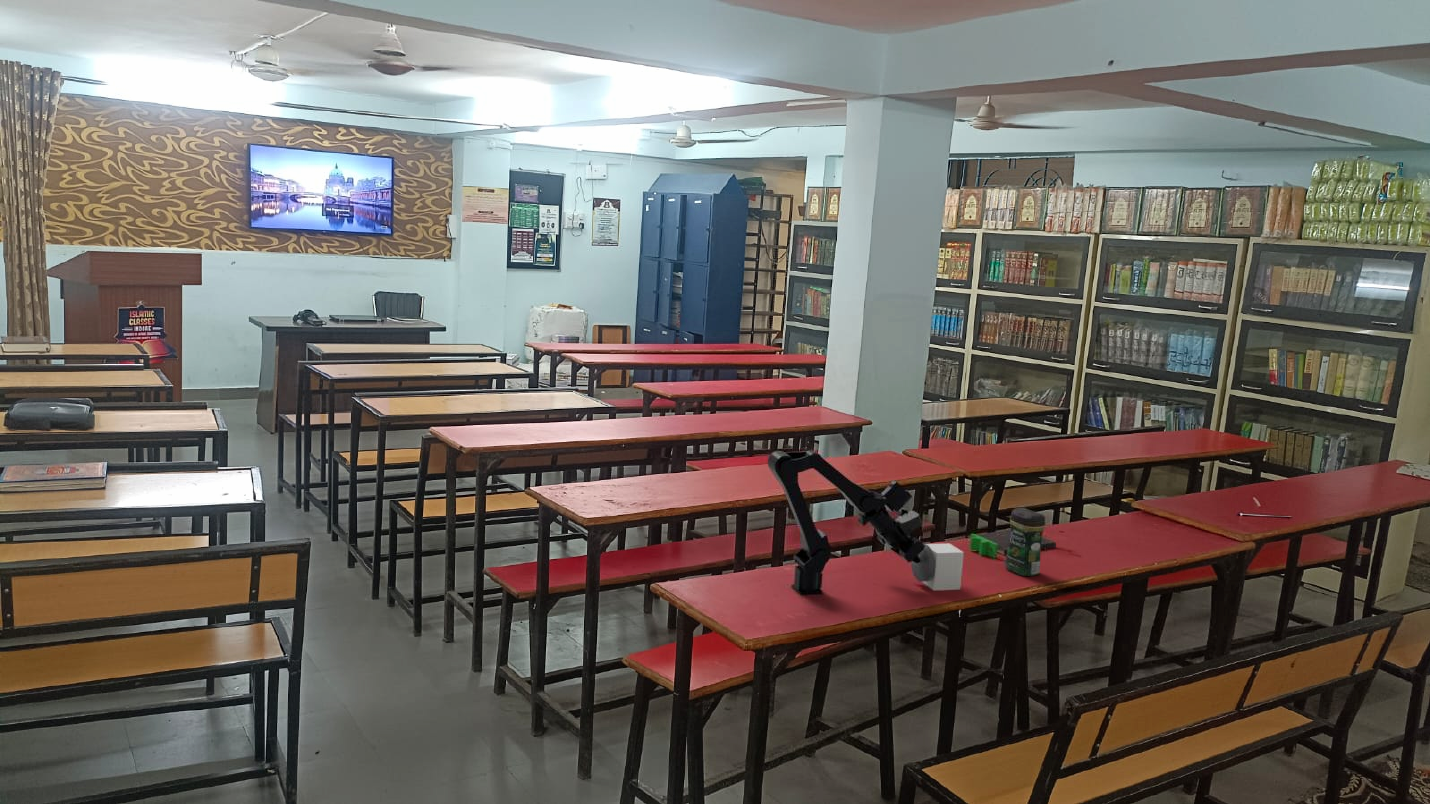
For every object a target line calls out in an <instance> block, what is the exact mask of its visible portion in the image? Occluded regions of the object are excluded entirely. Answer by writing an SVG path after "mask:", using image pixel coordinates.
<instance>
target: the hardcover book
mask: <svg viewBox="0 0 1430 804" xmlns="http://www.w3.org/2000/svg"><path fill="white" fill-rule="evenodd" d="M1010 532H1011V529H1008V530H1000V531H994V532H987V533H979V534H977V535H978V536H980V537H983V538H985V539H987V540H989V541H992V542H994V543H996V544H998V551H997V552H999V553H1002V554H1004V555H1006V554H1007V551H1008V546H1009V540H1010ZM997 534H999V535H997ZM966 537H967V538H968V539H971V535H967V536H966ZM968 539H967V541H968V542H969V541H970V540H968ZM1053 547H1057V543H1056V541H1053V540H1051V539H1048V538H1045V537H1043V536H1042V540H1041V551H1043V550H1042V549H1044V550H1046V549H1045V548H1051V549H1054V548H1053ZM999 553H998V554H999ZM1002 554H1001V555H1002ZM1004 555H1003V556H1004ZM1006 556H1007V555H1006Z"/></svg>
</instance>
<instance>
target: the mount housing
mask: <svg viewBox="0 0 1430 804" xmlns="http://www.w3.org/2000/svg"><path fill="white" fill-rule="evenodd" d="M925 544H926V545H928V546H929V547H930V548H931V550H932V553H933V556H934V562H935V568H934V574H933V577H932V579H931V580H930V581H923V582H922V583H923V584H925V585H926V586H927V587H928V588H929V589H931V590H932V591H950V590H951V591H952V590H953V591H954V590H961V586H962V585H961V584H962V583H961V582H962V574H963V565H964V554H965V553H964V551H963V550H961V549H959V548H958V547H956V546H954V545H953V544H952V543H925Z"/></svg>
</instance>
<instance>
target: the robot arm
mask: <svg viewBox="0 0 1430 804" xmlns="http://www.w3.org/2000/svg"><path fill="white" fill-rule="evenodd" d="M766 464H767V467H768V469H769V471H770V472H771V473H772V474H773V477H775V478H776V481H777V482H778V483H779V484H780V486H781V487H782V489H783V492H784V494H785V497H786V499H787V502H788V504H789V507H790V510H791V512H792V514H793V517H794V520H795V522H796V525H797V527H798V529H799V533H800V545H801V548H800V549H799V550H797V552H796V553H794V555H793V560H794V563H795V564H797V565H796V566H795V567H794V581H793V582H794V583H793V584H791V585H790V586H791V588H793V590H795V591H796V592H797V593H798V594H799V595H812V594H823V593H824V592H823V590H822V587H823V586H822V585H823V571H824V569H825V566H826V564H827V563H828V562H829V561H830V559H831V557H832V552H831V551H832V549H833V547H832V546H831V545H830V543H829V538H828V535H827V534H826V533H825V532H824V531H822V530H821V529H820V528H818V529H817V528H816V526H815V522H814V520H813V517H812V515H811V511H810V510H809V508H808V505H807V503H806V500H805V498H804V495H803V492H802V490H801V488H800V484H799V473H803V472H805V471H808V470H810V469H813V471H816V472H817V473H818V474H819V475H820V476H821V477H822V478H824V479H825V480H826V481H828V482H829V483H831V484H832V486H834V487H835V488H836V489H838V491H839V492H840V493H841V494H842V496H843V497H844V498H845V499H846V501H847V502H848V503H849V504H850V505H851V506H853V508H855V509H856V510H858V511H859V513H858V518H857V522H858V523H859V524H860V525H862V526H866V525H867V524H869V525H870V526H871V527H872V528H873V529H874V530H875V533H876V535H877V536H876V539H878V541H880V543H881V544H883V545H884V546H885V545H888V546H890V550H891V551H892V552H893V553H895V554H896V555H898V556H899V557H900V558H903V560H905V561H906V562H907V563H911V561H913V562H915V563H919V562H920V559H919V557H918V554H919V553H920V552H921V551H922V550H923V549H924V548H925V545H924V544H925V543H923V542H922V541H921V540H920V539H919V538H917V537H911V536H910V535H911V533H910V532H911V531H913V530H916V529H917V528H920V527H922V526H923V525H924V524H923V522H922V519H921V516H920V514H919V513H918V512H916V511H915V510H907V509H905V508H903V507H904V506H905V505H907V504H908V502H909V501H911V499H913V496H912V494H911V493H910V492H909V490H907V489H906V488H905V487H903V486H902V485H901V484H899V482H898V481H896V480H892V481H891V482H890V483H889V485H888V486H887V487H886V488H885V489H884V490H883V491H882V492H881V493H878V491H877V492H876V491H873V490H872V491H870V490H868V489H866V488H864V487H863V486H861V485H859V484H858V483H856V482H854V481H852V480H850V479H849V478H848V477H846V476H845V475H844V474H842V472H840V471H839V470H838V469H837V468H835V467H834V466H833V465H832V464H830V463H829V462H828V461H827V460H825V458H823V457H822V455H821V454H819V453H818V452H816V451H814V450H813V449H809V450H805V451H786V452H784V451H782V450H776V451H773V452H771V453H770V455H769V456H768V458H767V463H766ZM860 512H862V513H860ZM889 512H891V513H893V512H895V513H897V516H896V517H897V518H896V519H895V518H894V517H893V516H892V514H890V513H889Z"/></svg>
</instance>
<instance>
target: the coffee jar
mask: <svg viewBox="0 0 1430 804" xmlns="http://www.w3.org/2000/svg"><path fill="white" fill-rule="evenodd" d="M1009 523H1010V530H1011V532H1010V540H1009V546H1008V551H1007V555H1006V556H1005V557H1006V558H1005V565H1004V566H1005V568H1006V570H1009V571H1011V572H1013V573H1015V574H1017V575H1019V576H1023V577H1024V576H1025V577H1026V576H1028V577H1035V576H1037V575H1038V574H1040V573H1041V572H1040V571H1041V555H1042V554H1041V553H1042V552H1041V551H1042V550H1041V540H1042V537H1043V532H1044V530H1045V528H1046V518H1045V515H1044V514H1043V513H1040V512H1039V513H1038V512H1036V511H1033V510H1031V509H1028V508H1026V507H1018V508H1013V510H1012V511H1011V515H1010V519H1009Z"/></svg>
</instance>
